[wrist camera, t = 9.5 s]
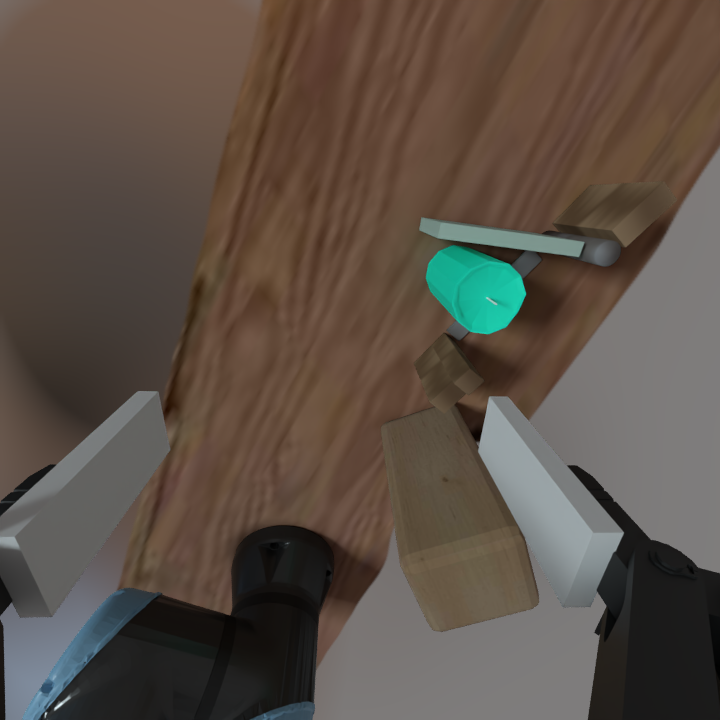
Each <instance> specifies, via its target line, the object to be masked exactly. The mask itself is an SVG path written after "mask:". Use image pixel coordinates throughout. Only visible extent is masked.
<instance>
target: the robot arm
mask: <svg viewBox="0 0 720 720" xmlns="http://www.w3.org/2000/svg"><path fill="white" fill-rule="evenodd" d="M169 451H170V446H169V441H168V437H167V432H166V427H165V422H164V417H163V412H162V407H161V403H160V398H159V393H158V392H150V391H146V392H145V391H138V392H137V393H135V394H134V395H133V396H132V397H131V398H130V399H129V400H128V401H127V402H126V403H124V405H122V406H121V407H120V408H119V409H118V410H117V411H116V412H115V413H113V414H112V415H111V416H110V417H109V418H108V419H107V420H106V421H105V422H104V423H102V424H101V425H100V426H99V427H98V428H97V429H96V430H95V431H94V432H93V433H91V434H90V435H89V436H88V437H87V438H86V439H85V440H84V441H83V442H82V443H81V444H80V445H78V446H77V447H76V448H75V449H74V450H73V451H72V452H71V453H69V454H68V455H67V456H66V457H65V458H64V459H63V460H62V461H61V462H60V463H58V465H48V466H47V467H45V468H43V469H41V470H40V471H38V472H36V473H34V474H33V475H31V476H29V477H28V478H27V479H26V480H25V481H24V482H23V483H21V484H20V485H19V486H18V487H16V488H15V489H14V492H11V493H10V494H8V495H7V496H6V497H5V498H4V499H3V500H1V503H0V615H1V614H2V613H3V612H4V611H5V609H6V608H7V607H8V606H9V605H10V603H11V602H12V603H13V605H14V607H15V609H16V611H17V613H18V615H19V617H20V618H21V617H52V616H53V615H54V614H55V612H56V611H57V609H58V608H59V607H60V605H61V604H62V602H63V601H64V600H65V598H66V597H67V595H68V594H69V593H70V591H71V589H72V588H73V587H74V585H75V584H76V582H77V581H78V580H79V578H80V577H81V575H82V574H83V573H84V571H85V570H86V568H87V567H88V566H89V564H90V563H91V561H92V560H93V558H94V557H95V556H96V554H97V553H98V551H99V550H100V549H101V547H102V546H103V544H104V543H105V541H106V540H107V539H108V537H109V536H110V534H111V533H112V532H113V530H114V529H115V527H116V526H117V525H118V523H119V522H120V520H121V519H122V517H123V516H124V515H125V513H126V512H127V510H128V509H129V508H130V506H131V505H132V503H133V502H134V500H135V499H136V498H137V496H138V495H139V493H140V492H141V491H142V489H143V488H144V486H145V485H146V483H147V482H148V481H149V479H150V478H151V476H152V475H153V474H154V472H155V471H156V469H157V468H158V466H159V465H160V464H161V462H162V461H163V459H164V458H165V457H166V455H167V454H168V452H169ZM478 453H479V454H480V456H481V458H482V460H483V462H484V464H485V465H486V467H487V469H488V471H489V473H490V475H491V476H492V478H493V480H494V482H495V484H496V486H497V487H498V489H499V491H500V493H501V495H502V497H503V498H504V500H505V502H506V504H507V506H508V508H509V509H510V511H511V513H512V515H513V517H514V519H515V520H516V522H517V524H518V526H519V528H520V530H521V531H522V533H523V535H524V537H525V539H526V540H527V542H528V544H529V546H530V548H531V550H532V552H533V553H534V555H535V557H536V559H537V561H538V563H539V565H540V566H541V568H542V570H543V572H544V574H545V576H546V577H547V579H548V581H549V583H550V585H551V586H552V588H553V590H554V592H555V594H556V596H557V598H558V599H559V601H560V603H561V605H562V607H590V606H591V604H592V602H593V600H594V597H595V595H596V593H597V592H598V593H599V595H600V596H601V598H602V599H603V601H604V603H605V604H606V606H607V607H606V609H605V611H604V614H603V615H602V618H601V619H600V622H599V624H598V626H597V628H596V630H595V633H596V634H597V635H600V639H599V645H598V652H597V659H596V667H595V673H594V681H593V687H592V695H591V701H590V709H589V715H588V720H720V573H716V572H712V571H708V570H705V569H701V568H698V567H697V566H696V565H695V564H694V562H693V561H692V560H690V559H689V558H688V557H687V556H685V555H684V554H683V553H682V552H680V551H678V550H677V549H675V548H673V547H671V546H669V545H667V544H664V543H661V542H658V541H654V540H650V538H649V537H648V536H647V535H646V534H645V533H644V532H643V531H642V530H641V529H640V528H639V526H638V525H637V524H636V523H635V522H634V521H633V520H632V519H631V518H630V517H629V516H628V514H626V512H625V511H624V510H623V509H622V508H621V507H620V506H619V505H618V504H617V503H616V502H614V501H613V498H612V497H611V496H610V495H609V494H608V493H607V492H606V491H604V488H603V487H602V486H601V485H600V484H599V483H598V482H597V481H596V480H595V478H593V476H591V475H590V474H588V473H587V472H585V471H584V470H583V469H581V468H580V467H578V466H574V465H571V466H570V465H569V466H567V465H566V464H565V463H564V462H563V461H562V460H561V458H560V457H559V456H558V455H557V454H556V453H555V451H554V450H553V449H552V448H551V447H550V445H549V444H548V443H547V442H546V441H545V440H544V438H543V437H542V436H541V435H540V434H539V433H538V431H537V430H536V429H535V428H534V427H533V426H532V424H531V423H530V422H529V421H528V420H527V419H526V417H525V416H524V415H523V414H522V413H521V412H520V410H519V409H518V408H517V407H516V406H515V405H514V403H513V402H512V401H511V400H510V399H509V397H495V396H489V401H488V406H487V411H486V416H485V420H484V425H483V430H482V435H481V440H480V444H479V449H478ZM333 572H334V556H333V553H332V550H331V548H330V547H329V545H328V544H327V543H326V542H325V541H324V540H323V539H322V538H321V537H319V536H318V535H316V534H314V533H312V532H310V531H308V530H305V529H302V528H298V527H291V526H274V527H268V528H264V529H261V530H258V531H256V532H254V533H252V534H250V535H249V536H247V537H246V538H245V539H244V540H243V541H242V542H241V543H240V544H239V546H238V548H237V550H236V553H235V557H234V560H233V563H232V569H231V575H232V612H231V615H226V614H223V613H220V612H217V611H213V610H210V609H206V608H203V607H200V606H196V605H193V604H189V603H186V602H183V601H180V600H177V599H174V598H170V597H167V596H164V595H162V593H160V592H157V593H152V592H147V591H142V590H138V589H134V588H123V589H120V590H118V591H116V592H114V593H113V594H112V595H110V596H109V597H108V598H107V599H106V600H105V601H104V602H103V603H102V604H101V605H100V606H99V608H98V609H97V610H96V611H95V612H94V614H93V615H92V616H91V617H90V619H89V620H88V621H87V622H86V624H85V625H84V626H83V628H82V629H81V630H80V631H79V633H78V634H77V635H76V637H75V638H74V640H73V641H72V642H71V644H70V645H69V646H68V648H67V649H66V650H65V652H64V653H63V655H62V656H61V658H60V659H59V661H58V662H57V663H56V665H55V666H54V668H53V669H52V671H51V672H50V674H49V677H48V678H47V679H46V680H45V682H44V683H43V685H42V687H41V688H40V689H39V691H38V692H37V693H36V695H35V696H34V698H33V699H32V701H31V703H30V704H29V706H28V708H27V710H26V712H25V713H24V716H23V718H22V720H312V718H313V714H314V711H315V704H314V692H315V691H314V690H315V674H316V657H317V640H318V623H319V614H320V612H321V609H322V606H323V604H324V601H325V598H326V596H327V593H328V590H329V588H330V585H331V582H332V579H333ZM4 682H5V681H4V636H3V625H2V623H1V620H0V720H5V683H4Z"/></svg>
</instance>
